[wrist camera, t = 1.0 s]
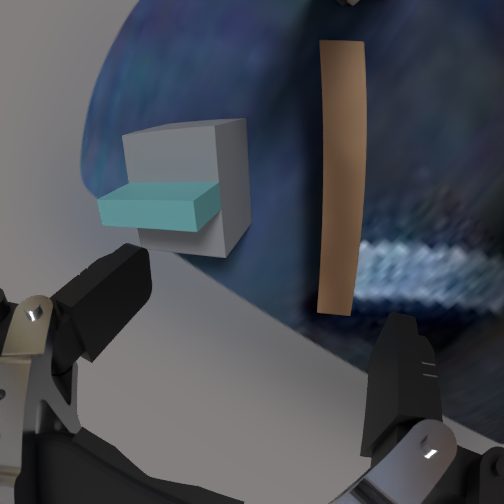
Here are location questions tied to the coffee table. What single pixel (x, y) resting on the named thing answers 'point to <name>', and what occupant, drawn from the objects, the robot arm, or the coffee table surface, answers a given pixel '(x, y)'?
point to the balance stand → (185, 187)
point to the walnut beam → (342, 171)
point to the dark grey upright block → (345, 0)
